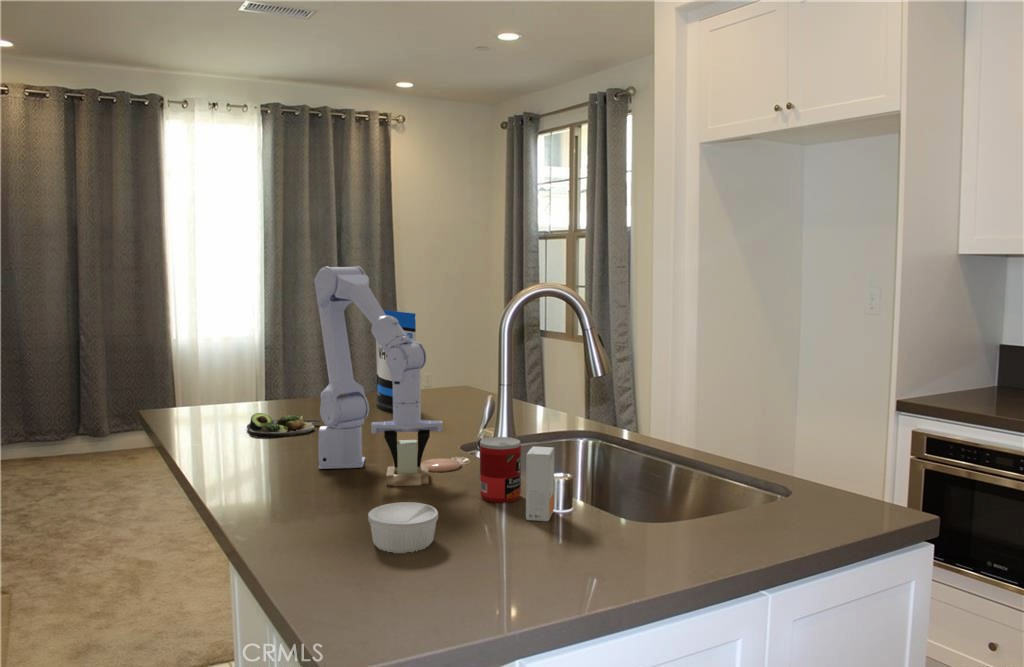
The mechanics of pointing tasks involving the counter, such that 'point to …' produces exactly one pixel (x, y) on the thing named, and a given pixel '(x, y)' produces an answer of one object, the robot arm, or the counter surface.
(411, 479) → the oak holder
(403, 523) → the ramekin
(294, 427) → the salad plate
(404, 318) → the protein powder
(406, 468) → the sage peg
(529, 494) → the skincare box
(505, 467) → the canned food
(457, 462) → the terracotta coaster
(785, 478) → the counter surface
